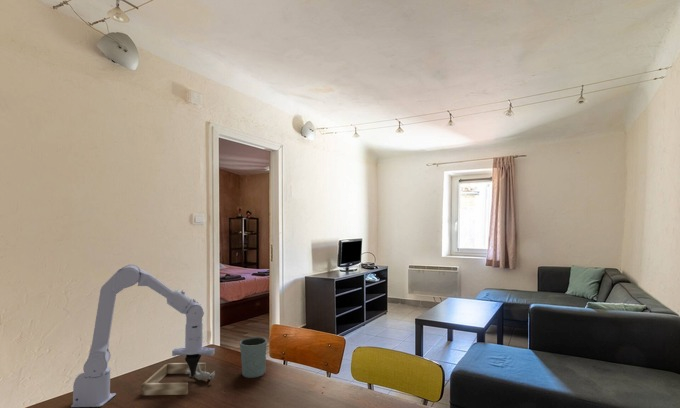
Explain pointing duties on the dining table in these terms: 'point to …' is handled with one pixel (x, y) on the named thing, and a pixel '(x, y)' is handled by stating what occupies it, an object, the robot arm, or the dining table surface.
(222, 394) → the dining table surface
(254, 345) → the green cup
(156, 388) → the beech frame
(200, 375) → the soldier figure
